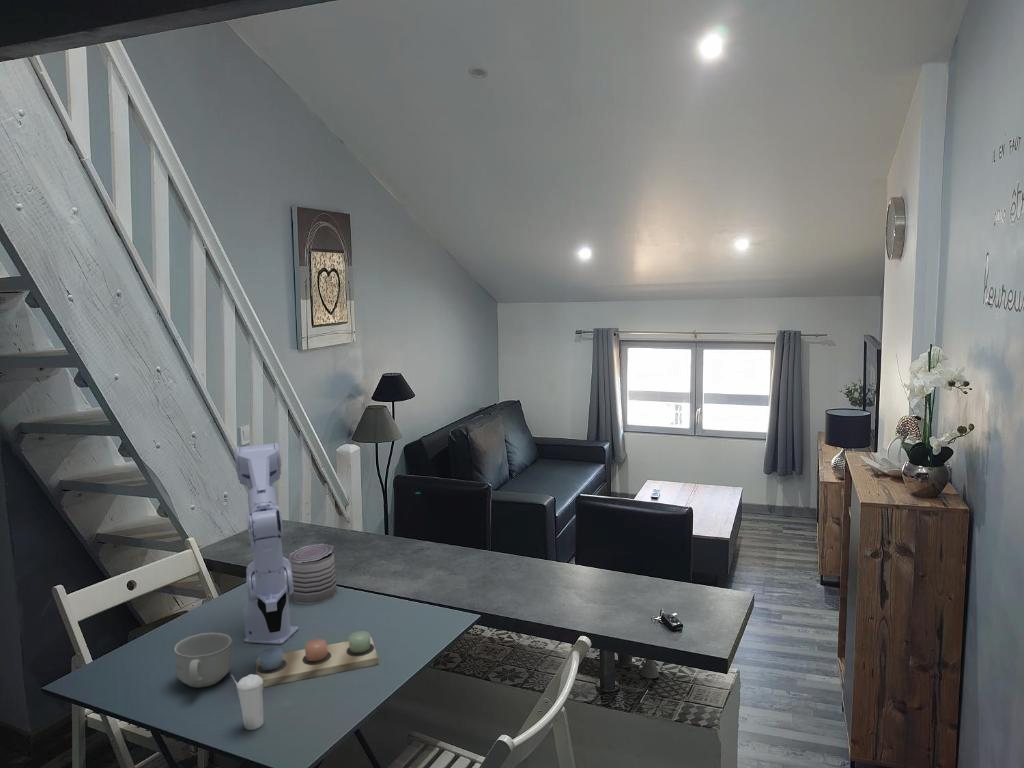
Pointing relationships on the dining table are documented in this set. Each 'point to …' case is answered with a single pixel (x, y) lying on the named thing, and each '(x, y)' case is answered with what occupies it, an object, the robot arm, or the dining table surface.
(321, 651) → the terracotta button
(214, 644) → the teacup
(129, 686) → the dining table surface
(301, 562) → the can
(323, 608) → the dining table surface
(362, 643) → the sage button
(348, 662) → the button panel
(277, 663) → the slate button
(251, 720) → the milkshake
